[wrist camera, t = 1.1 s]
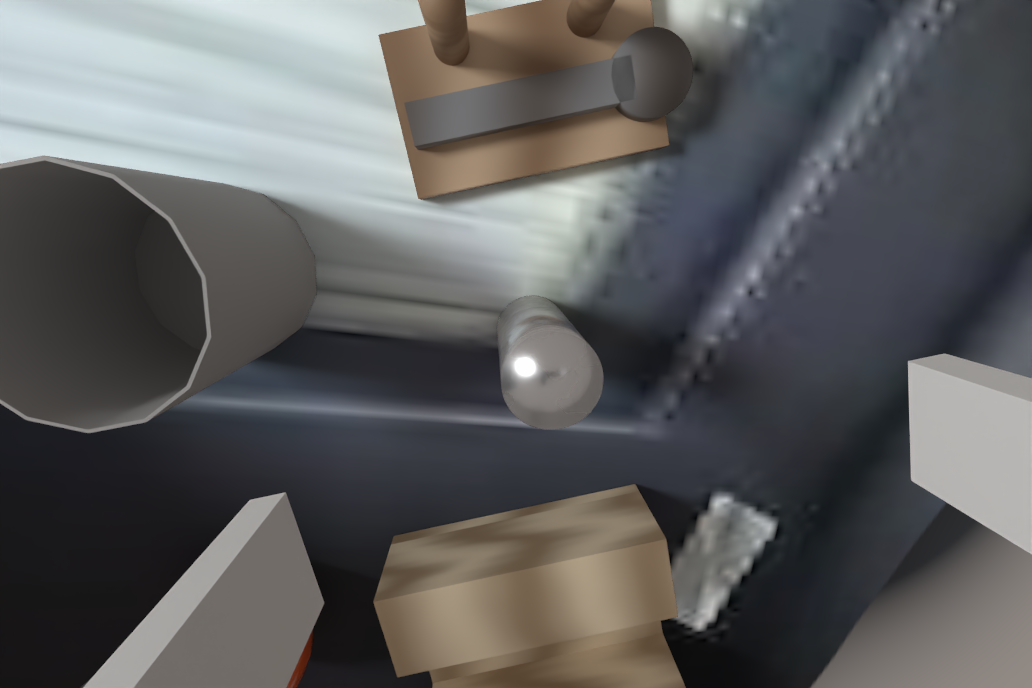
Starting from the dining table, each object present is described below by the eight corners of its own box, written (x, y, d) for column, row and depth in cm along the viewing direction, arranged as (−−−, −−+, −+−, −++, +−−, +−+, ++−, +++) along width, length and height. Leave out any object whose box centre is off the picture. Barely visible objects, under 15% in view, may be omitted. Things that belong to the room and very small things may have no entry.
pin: (505, 369, 27) (512, 439, 18) (490, 303, 26) (491, 343, 17) (571, 355, 27) (610, 418, 18) (559, 289, 26) (594, 321, 17)
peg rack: (421, 199, 25) (400, 191, 19) (383, 42, 23) (347, -19, 17) (684, 143, 25) (744, 118, 19) (664, -18, 23) (723, -99, 17)
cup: (332, 212, 25) (230, 205, 15) (302, 370, 26) (194, 455, 17) (150, 163, 24) (-83, 122, 14) (132, 330, 26) (-87, 395, 16)
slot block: (451, 727, 32) (443, 821, 27) (393, 535, 29) (373, 601, 24) (668, 680, 32) (701, 765, 27) (635, 483, 29) (666, 539, 24)
